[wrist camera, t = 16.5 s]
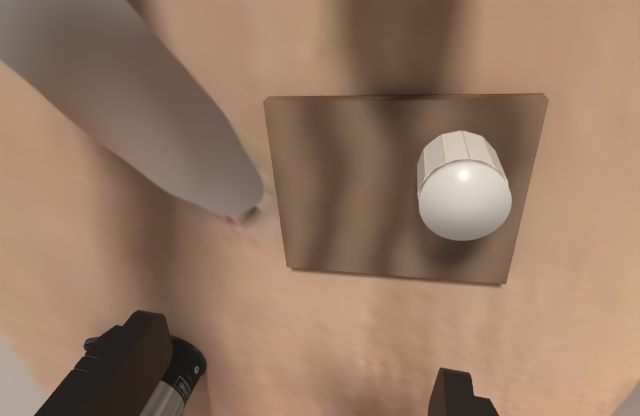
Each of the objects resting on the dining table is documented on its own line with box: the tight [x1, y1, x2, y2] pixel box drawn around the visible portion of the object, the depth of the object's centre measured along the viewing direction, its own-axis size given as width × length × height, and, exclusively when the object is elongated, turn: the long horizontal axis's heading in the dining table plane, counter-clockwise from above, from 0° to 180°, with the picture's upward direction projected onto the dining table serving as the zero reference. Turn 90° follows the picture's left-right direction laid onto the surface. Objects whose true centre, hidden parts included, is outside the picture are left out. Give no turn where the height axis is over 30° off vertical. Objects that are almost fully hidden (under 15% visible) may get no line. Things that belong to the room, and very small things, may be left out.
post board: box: [263, 94, 549, 284], centre depth 34 cm, size 22×18×8 cm
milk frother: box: [84, 337, 206, 416], centre depth 53 cm, size 14×16×15 cm
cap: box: [417, 131, 512, 241], centre depth 30 cm, size 6×6×6 cm
